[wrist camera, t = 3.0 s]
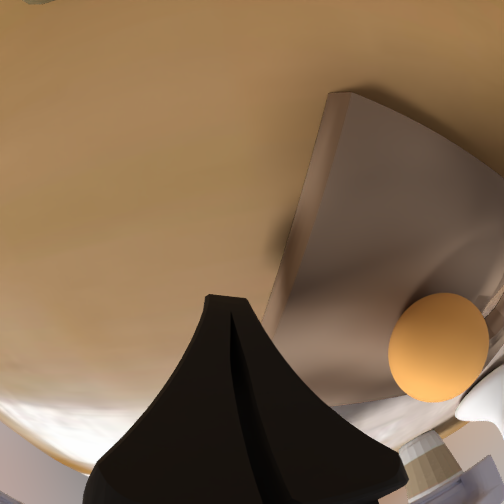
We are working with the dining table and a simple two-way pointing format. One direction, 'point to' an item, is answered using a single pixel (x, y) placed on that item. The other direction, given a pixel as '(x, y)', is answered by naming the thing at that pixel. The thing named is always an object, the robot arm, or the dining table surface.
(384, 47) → the dining table surface
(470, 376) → the ball
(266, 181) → the dining table surface
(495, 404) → the flower in vase
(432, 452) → the coffee cup
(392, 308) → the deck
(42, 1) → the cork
